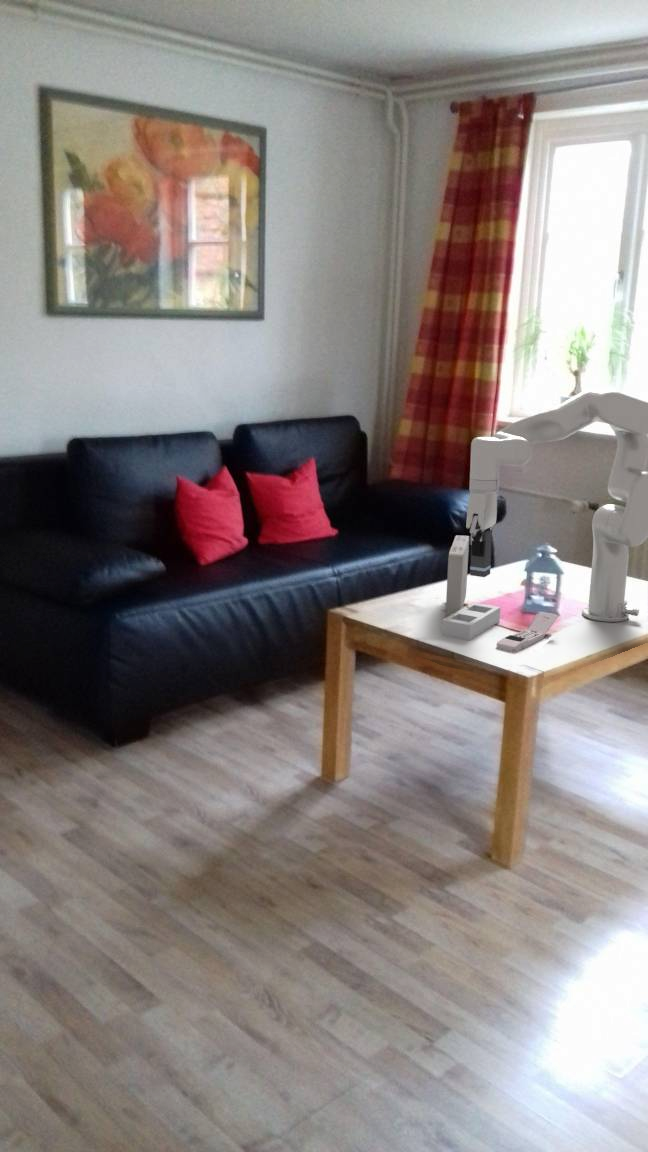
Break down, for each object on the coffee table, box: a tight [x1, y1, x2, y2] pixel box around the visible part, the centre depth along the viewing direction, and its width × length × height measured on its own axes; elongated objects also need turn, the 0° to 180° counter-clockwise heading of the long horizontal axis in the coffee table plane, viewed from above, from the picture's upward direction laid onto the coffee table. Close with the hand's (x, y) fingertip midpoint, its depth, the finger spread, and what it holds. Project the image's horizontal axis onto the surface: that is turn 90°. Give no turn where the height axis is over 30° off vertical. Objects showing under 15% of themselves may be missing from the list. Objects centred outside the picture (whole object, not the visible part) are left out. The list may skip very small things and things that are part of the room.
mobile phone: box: [496, 610, 559, 653], centre depth 262 cm, size 6×6×25 cm
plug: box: [469, 527, 493, 578], centre depth 270 cm, size 5×4×12 cm
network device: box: [441, 535, 470, 618], centre depth 286 cm, size 26×9×20 cm, turn 168°
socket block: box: [440, 601, 502, 641], centre depth 271 cm, size 8×20×5 cm, turn 148°
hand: (481, 553), depth 270 cm, fingers closed on plug, 4 cm apart
